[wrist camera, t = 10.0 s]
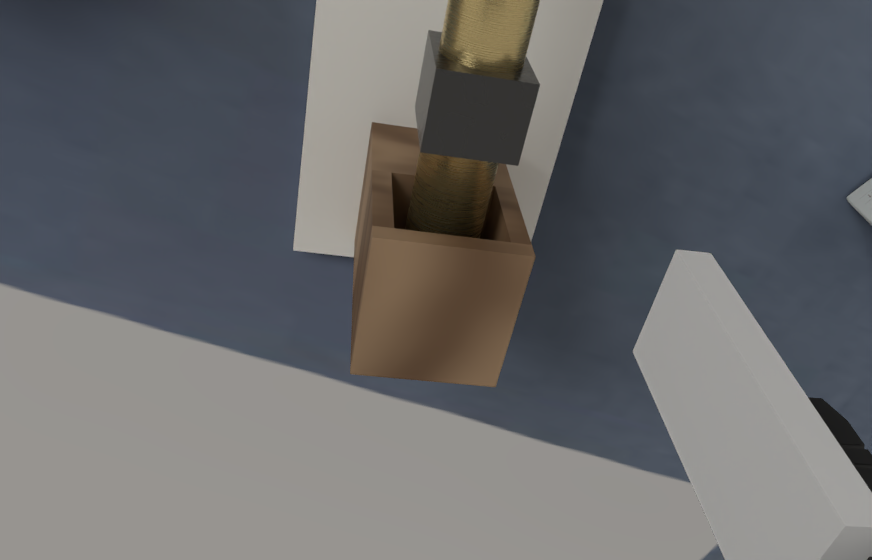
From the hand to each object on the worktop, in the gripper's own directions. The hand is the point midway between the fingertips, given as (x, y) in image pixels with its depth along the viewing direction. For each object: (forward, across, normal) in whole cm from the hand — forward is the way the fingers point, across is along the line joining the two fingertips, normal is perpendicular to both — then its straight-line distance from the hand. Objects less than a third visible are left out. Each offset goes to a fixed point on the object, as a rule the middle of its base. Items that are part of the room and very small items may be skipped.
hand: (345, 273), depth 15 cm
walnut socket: (+22, +5, -9) cm, 24 cm away
